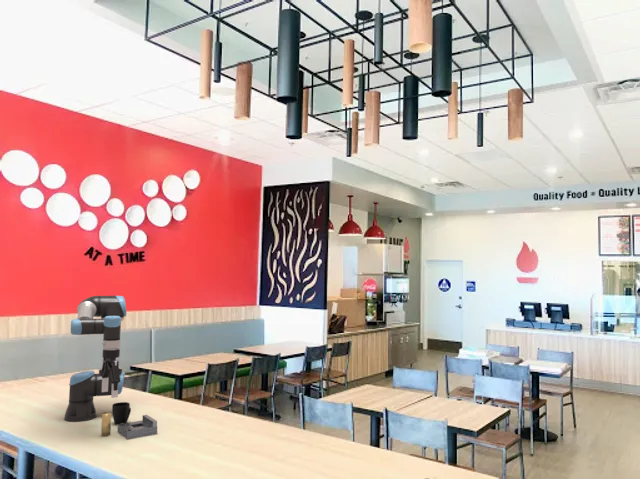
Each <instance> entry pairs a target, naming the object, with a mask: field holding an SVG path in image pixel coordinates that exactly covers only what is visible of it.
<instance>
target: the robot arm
mask: <svg viewBox="0 0 640 479" xmlns="http://www.w3.org/2000/svg"><path fill="white" fill-rule="evenodd" d="M126 305H127V304H126V299H125V297H124V296H123V295H91V296H89V297H86V298H85V299H83V300H81V301H80V302H79V303H78V305H77V309H76V313H77V317H76V318H73V319H72V320H71V322H70V335H71V336H74V335H75V336H81V335H82V336H84V335H88V336H89V335H103V336H102V337H103V338H102V339H103V340H102V343H101V344H102V360H101V361H102V365H101V366H102V367H100V369H99V370H98V373H95V371H94V370H85V371H84V370H83V371H81V372H80V371H79V372H76V373H74V374H72V375H71V376H70V378H69V384H68V385H69V392H68V393H69V394H68V404H67V407H66V411H65V412H64V413H65V414H64V418H63V419H64V421H66V422H84V421H90V420H92V419H96V417H97V410H96V406H95V403H94V397H107V396H110V398H119V395H121V393H122V392H123V387H124V381H125V375H126V374H125V373H126V372H124V371H123V368H122V367H121V366H120V358H121V357H120V356H121V354H120V353H121V350H120V348H121V330H122V328H121V327H122V322H123V321H124V319H125V318H124V317H127V306H126Z"/></svg>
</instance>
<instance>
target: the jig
mask: <svg viewBox="0 0 640 479" xmlns="http://www.w3.org/2000/svg"><path fill="white" fill-rule="evenodd" d="M117 433H118V434H119V435H121V436H122V437H123V438H124V439H126V440H131V439H136V438H137V437H138V438H143V437H147V436H153V435H158V420H156V419H155V418H153V417H151V416H150V415H148V414H142V419H141V420H137V421H131V422H126V423H120V424H118V425H117Z"/></svg>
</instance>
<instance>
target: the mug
mask: <svg viewBox="0 0 640 479" xmlns="http://www.w3.org/2000/svg"><path fill="white" fill-rule="evenodd" d="M130 404H131V403H130V402H125V401H122V402H114V403H113V404H112V407H111V408H112V410H111V411H112V412H111V415H112V420H113V423H114V425H117V426H118V424H120V423H128V421H129V417H130V415H131V411H132V410H131V409H132V408H131V407H130V406H131V405H130Z"/></svg>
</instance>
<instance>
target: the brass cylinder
mask: <svg viewBox="0 0 640 479" xmlns="http://www.w3.org/2000/svg"><path fill="white" fill-rule="evenodd" d="M111 425H112V412H109V411H108V412H103V413H101V427H100V428H101V432H100V436H101V437H102V438H103V437H104V438H105V437H110V436H111Z"/></svg>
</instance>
